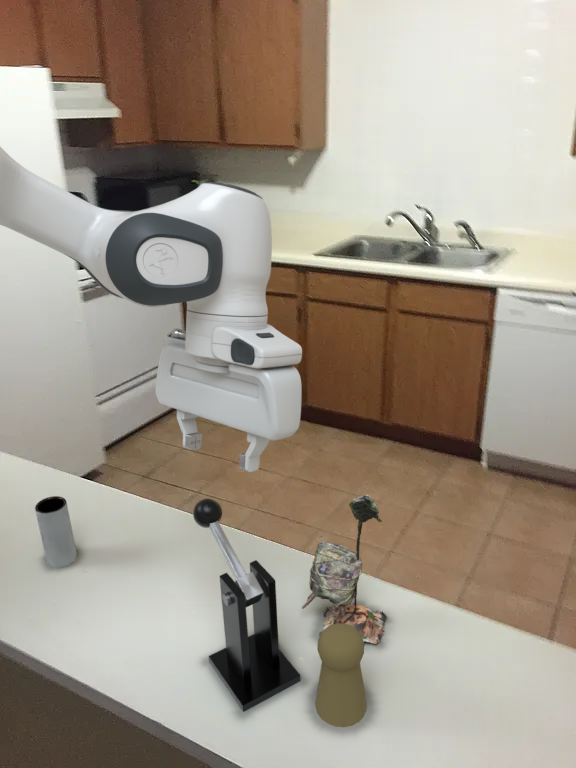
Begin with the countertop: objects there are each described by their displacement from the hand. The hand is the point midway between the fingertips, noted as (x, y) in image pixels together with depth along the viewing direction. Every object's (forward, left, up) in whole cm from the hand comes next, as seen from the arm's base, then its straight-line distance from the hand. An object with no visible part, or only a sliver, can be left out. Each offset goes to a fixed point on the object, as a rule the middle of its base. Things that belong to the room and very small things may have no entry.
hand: (219, 458), depth 76 cm
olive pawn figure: (+6, -16, -28) cm, 33 cm away
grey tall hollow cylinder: (-14, +30, -28) cm, 44 cm away
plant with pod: (+14, -6, -28) cm, 32 cm away
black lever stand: (0, -6, -28) cm, 28 cm away
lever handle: (0, 0, -14) cm, 14 cm away
